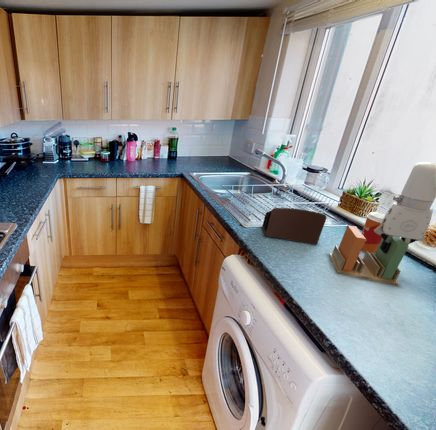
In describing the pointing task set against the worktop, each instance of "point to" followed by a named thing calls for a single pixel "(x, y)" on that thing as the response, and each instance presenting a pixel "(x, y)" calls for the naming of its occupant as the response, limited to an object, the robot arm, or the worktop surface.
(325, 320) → the worktop surface
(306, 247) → the worktop surface
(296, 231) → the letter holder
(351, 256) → the orange book
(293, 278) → the worktop surface
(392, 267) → the green book
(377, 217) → the coffee cup
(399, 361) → the worktop surface
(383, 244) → the robot arm
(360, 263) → the book rack
